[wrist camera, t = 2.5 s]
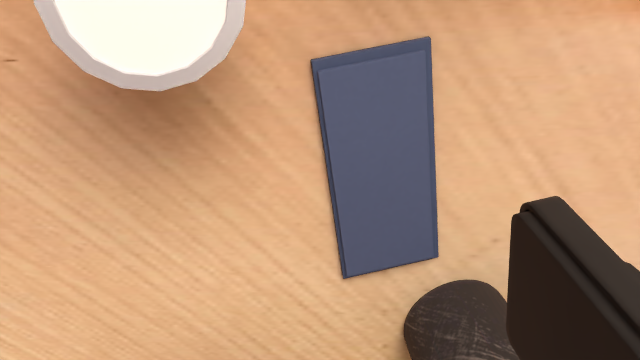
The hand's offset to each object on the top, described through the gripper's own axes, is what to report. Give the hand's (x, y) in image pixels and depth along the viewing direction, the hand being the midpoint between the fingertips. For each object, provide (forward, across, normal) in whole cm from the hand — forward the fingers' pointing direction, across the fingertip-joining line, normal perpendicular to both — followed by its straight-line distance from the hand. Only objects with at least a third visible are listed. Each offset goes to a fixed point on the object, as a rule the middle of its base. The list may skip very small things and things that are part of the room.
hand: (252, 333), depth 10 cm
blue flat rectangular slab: (+20, -7, +11) cm, 24 cm away
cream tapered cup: (+21, +2, -2) cm, 21 cm away
